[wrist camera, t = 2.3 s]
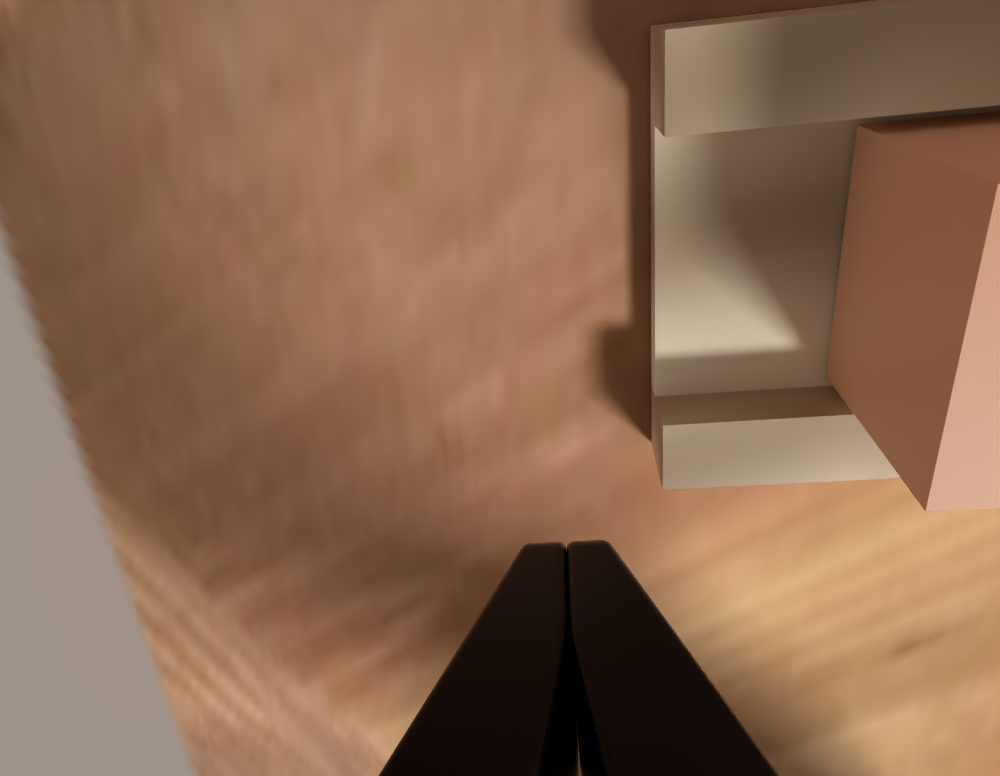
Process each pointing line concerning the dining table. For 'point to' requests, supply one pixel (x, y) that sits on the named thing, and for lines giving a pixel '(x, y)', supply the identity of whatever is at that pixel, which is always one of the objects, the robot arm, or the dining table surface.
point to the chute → (778, 219)
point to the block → (924, 304)
